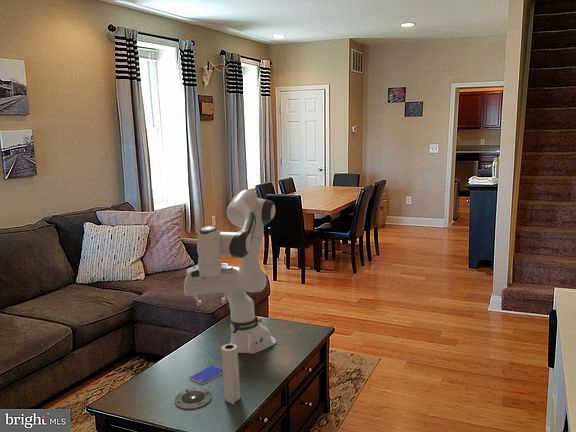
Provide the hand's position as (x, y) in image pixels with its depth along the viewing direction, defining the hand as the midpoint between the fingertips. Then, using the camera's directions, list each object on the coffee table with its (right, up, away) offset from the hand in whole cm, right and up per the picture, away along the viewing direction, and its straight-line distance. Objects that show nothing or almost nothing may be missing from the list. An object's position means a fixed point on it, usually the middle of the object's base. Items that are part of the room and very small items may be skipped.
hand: (211, 304), depth 194 cm
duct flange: (-7, -37, +1) cm, 38 cm away
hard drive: (-5, -34, +19) cm, 39 cm away
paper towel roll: (+8, -37, 0) cm, 37 cm away
